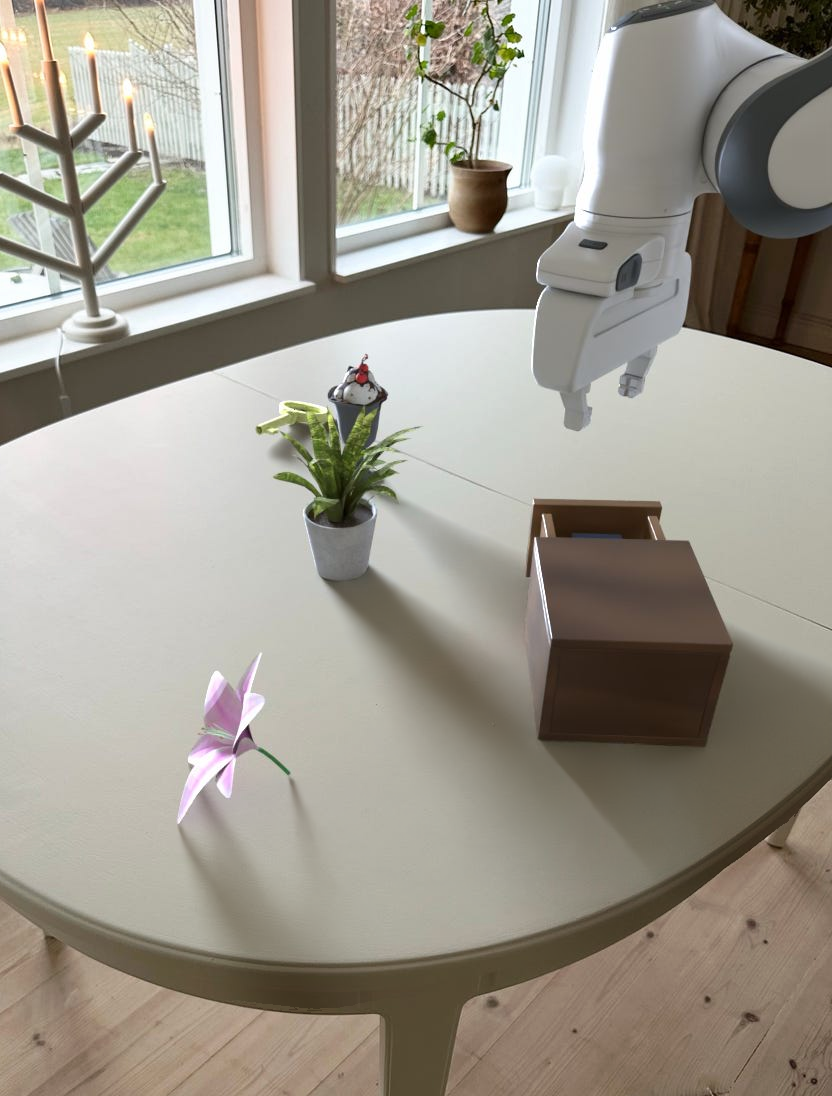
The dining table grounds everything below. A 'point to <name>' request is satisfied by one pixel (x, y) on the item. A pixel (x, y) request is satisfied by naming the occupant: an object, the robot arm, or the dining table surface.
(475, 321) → the dining table surface
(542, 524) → the drawer
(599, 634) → the cabinet
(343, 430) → the sundae
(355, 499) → the house plant
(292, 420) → the key
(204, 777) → the lily
